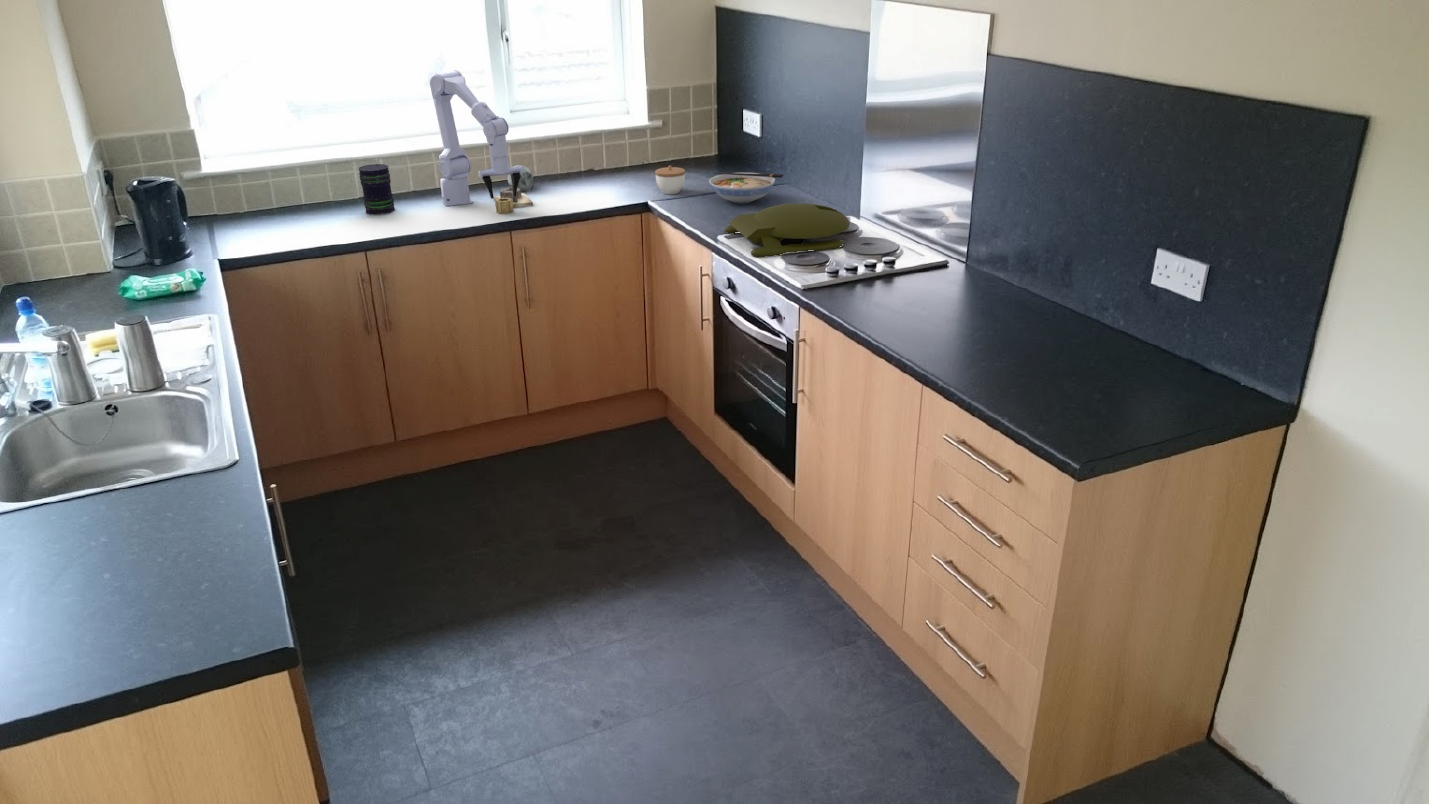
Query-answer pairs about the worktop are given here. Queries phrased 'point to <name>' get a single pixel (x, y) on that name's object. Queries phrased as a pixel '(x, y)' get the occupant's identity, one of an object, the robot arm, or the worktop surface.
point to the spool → (523, 179)
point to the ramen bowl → (742, 186)
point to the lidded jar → (670, 179)
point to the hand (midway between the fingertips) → (503, 196)
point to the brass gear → (504, 205)
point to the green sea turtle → (790, 228)
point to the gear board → (520, 201)
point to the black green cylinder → (376, 189)
